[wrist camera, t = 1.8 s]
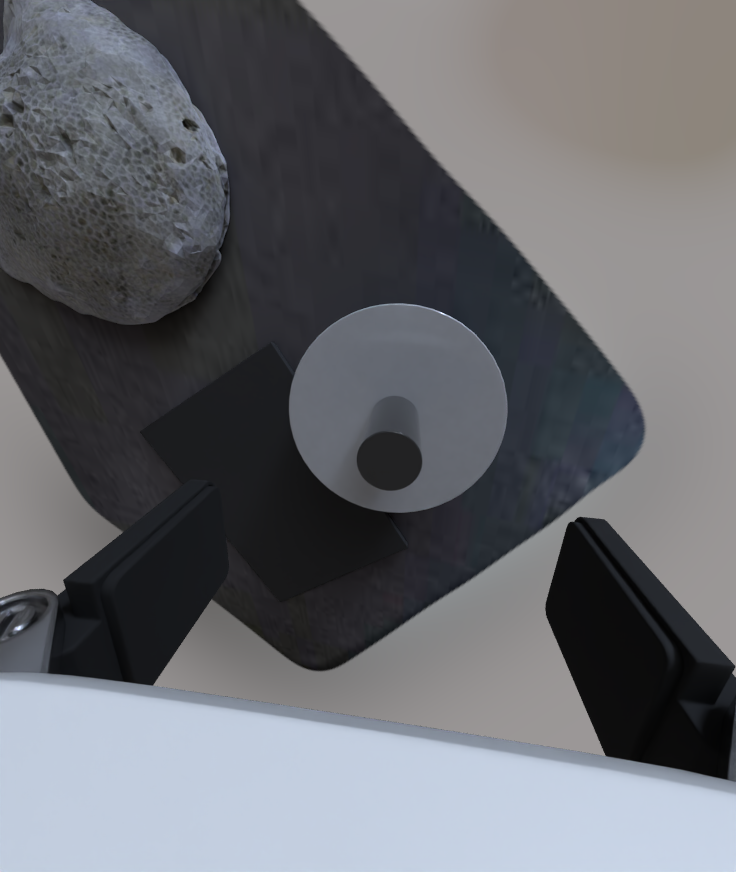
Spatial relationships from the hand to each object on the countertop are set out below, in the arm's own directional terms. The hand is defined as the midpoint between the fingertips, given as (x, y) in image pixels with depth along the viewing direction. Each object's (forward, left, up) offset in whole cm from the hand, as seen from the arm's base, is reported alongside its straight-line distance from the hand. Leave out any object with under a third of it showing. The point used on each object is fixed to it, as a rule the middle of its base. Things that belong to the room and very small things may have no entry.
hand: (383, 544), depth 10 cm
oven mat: (+9, -10, -18) cm, 23 cm away
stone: (-12, -20, -19) cm, 29 cm away
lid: (0, 0, -11) cm, 11 cm away
